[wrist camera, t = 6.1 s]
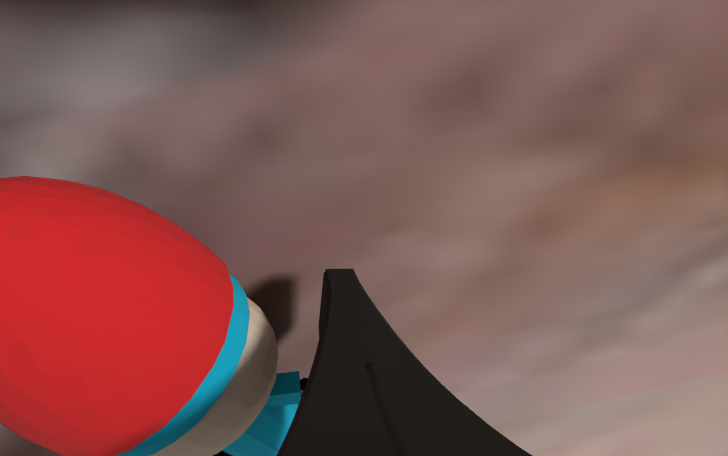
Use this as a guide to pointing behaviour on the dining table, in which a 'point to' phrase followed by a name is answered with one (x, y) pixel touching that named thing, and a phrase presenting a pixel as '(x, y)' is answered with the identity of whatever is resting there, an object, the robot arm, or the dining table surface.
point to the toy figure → (129, 333)
